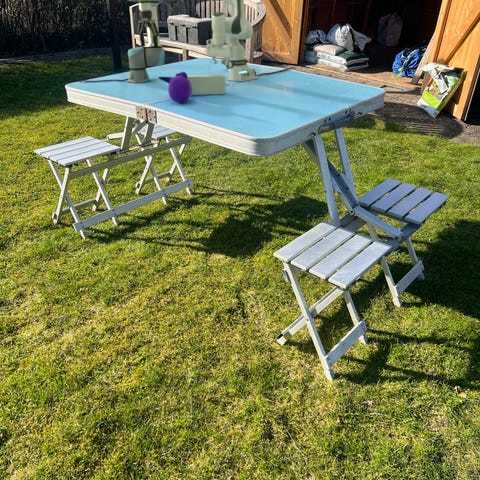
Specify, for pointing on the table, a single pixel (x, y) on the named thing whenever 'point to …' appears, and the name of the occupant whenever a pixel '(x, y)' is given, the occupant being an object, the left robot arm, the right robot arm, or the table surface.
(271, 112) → the table surface
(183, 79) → the toy
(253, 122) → the table surface
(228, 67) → the cream textured rounded piece
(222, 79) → the box
